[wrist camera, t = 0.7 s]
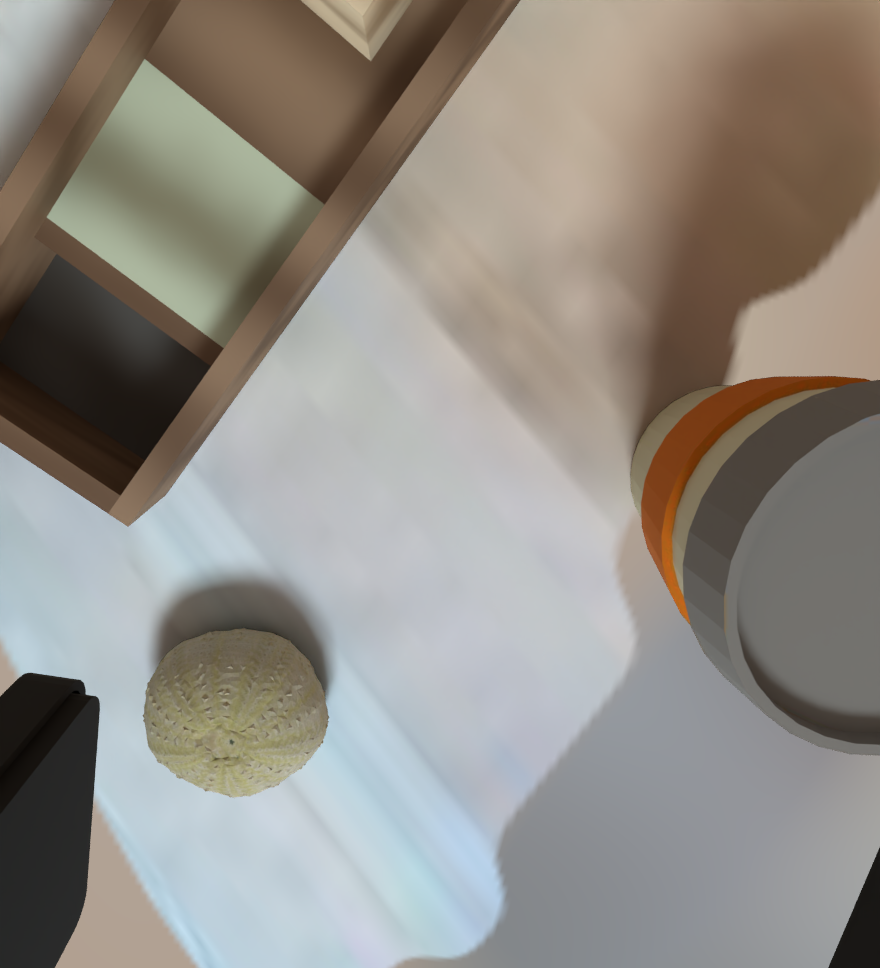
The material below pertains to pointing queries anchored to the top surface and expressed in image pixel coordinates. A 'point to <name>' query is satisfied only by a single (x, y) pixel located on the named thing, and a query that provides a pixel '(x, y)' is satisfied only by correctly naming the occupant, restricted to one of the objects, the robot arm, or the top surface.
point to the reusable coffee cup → (776, 544)
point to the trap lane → (195, 217)
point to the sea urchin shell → (235, 711)
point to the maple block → (361, 20)
